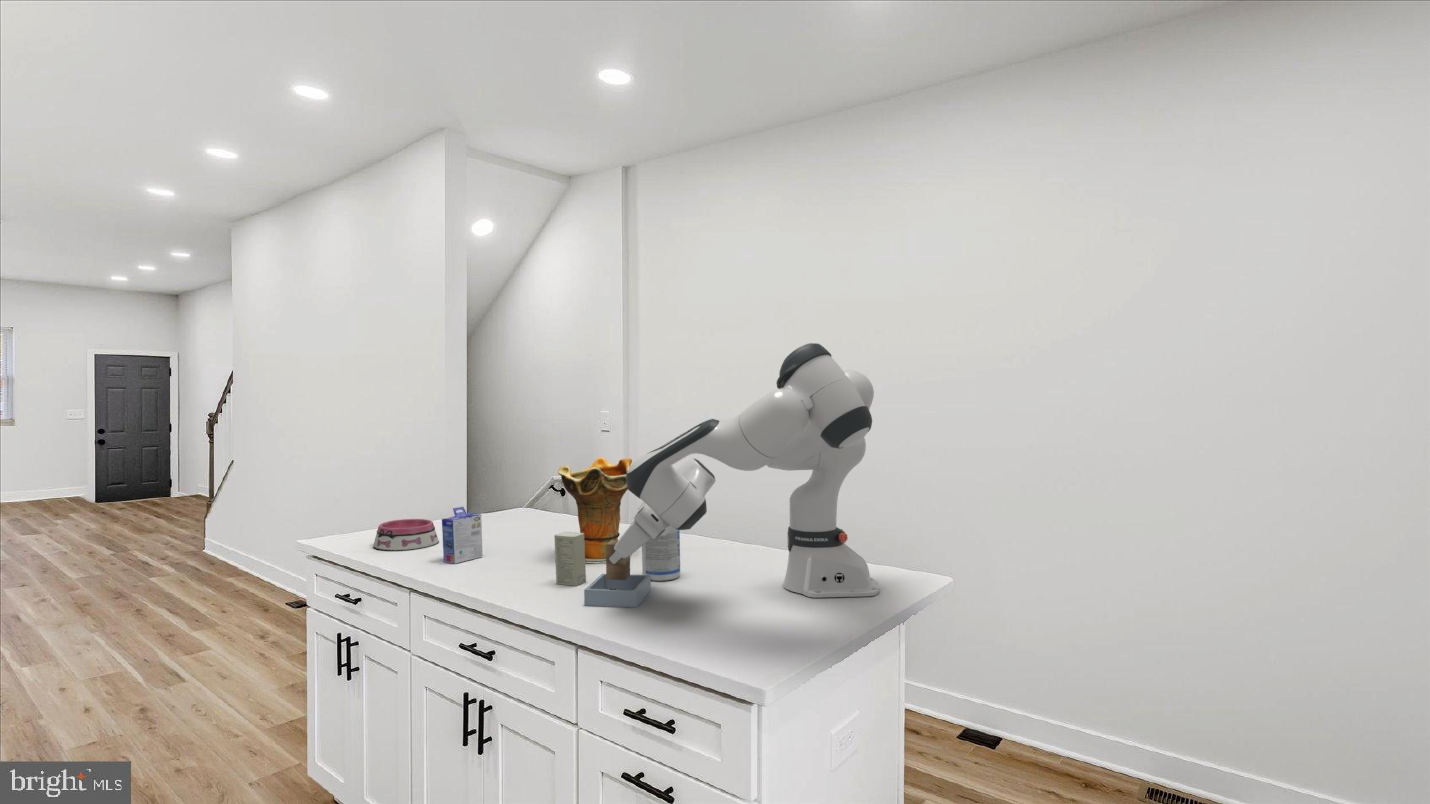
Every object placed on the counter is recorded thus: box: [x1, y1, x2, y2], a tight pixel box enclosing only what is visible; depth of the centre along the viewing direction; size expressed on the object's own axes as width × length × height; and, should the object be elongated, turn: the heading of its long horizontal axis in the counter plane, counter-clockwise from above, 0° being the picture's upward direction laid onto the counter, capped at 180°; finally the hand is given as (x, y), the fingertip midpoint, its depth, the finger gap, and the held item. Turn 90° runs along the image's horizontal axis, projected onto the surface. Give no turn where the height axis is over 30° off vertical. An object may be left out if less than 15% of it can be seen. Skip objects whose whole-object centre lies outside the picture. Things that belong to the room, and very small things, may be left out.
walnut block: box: [605, 539, 631, 580], centre depth 168 cm, size 4×4×8 cm
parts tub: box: [583, 573, 652, 608], centre depth 168 cm, size 12×14×4 cm
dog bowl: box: [373, 518, 440, 552], centre depth 225 cm, size 18×19×7 cm
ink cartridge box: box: [441, 506, 484, 565], centre depth 205 cm, size 10×6×14 cm, turn 148°
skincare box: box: [553, 531, 587, 587], centre depth 180 cm, size 6×4×12 cm
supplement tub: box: [641, 528, 681, 582], centre depth 185 cm, size 10×10×15 cm
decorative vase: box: [557, 456, 633, 564], centre depth 207 cm, size 21×23×28 cm
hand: (615, 557), depth 168 cm, fingers closed on walnut block, 4 cm apart
